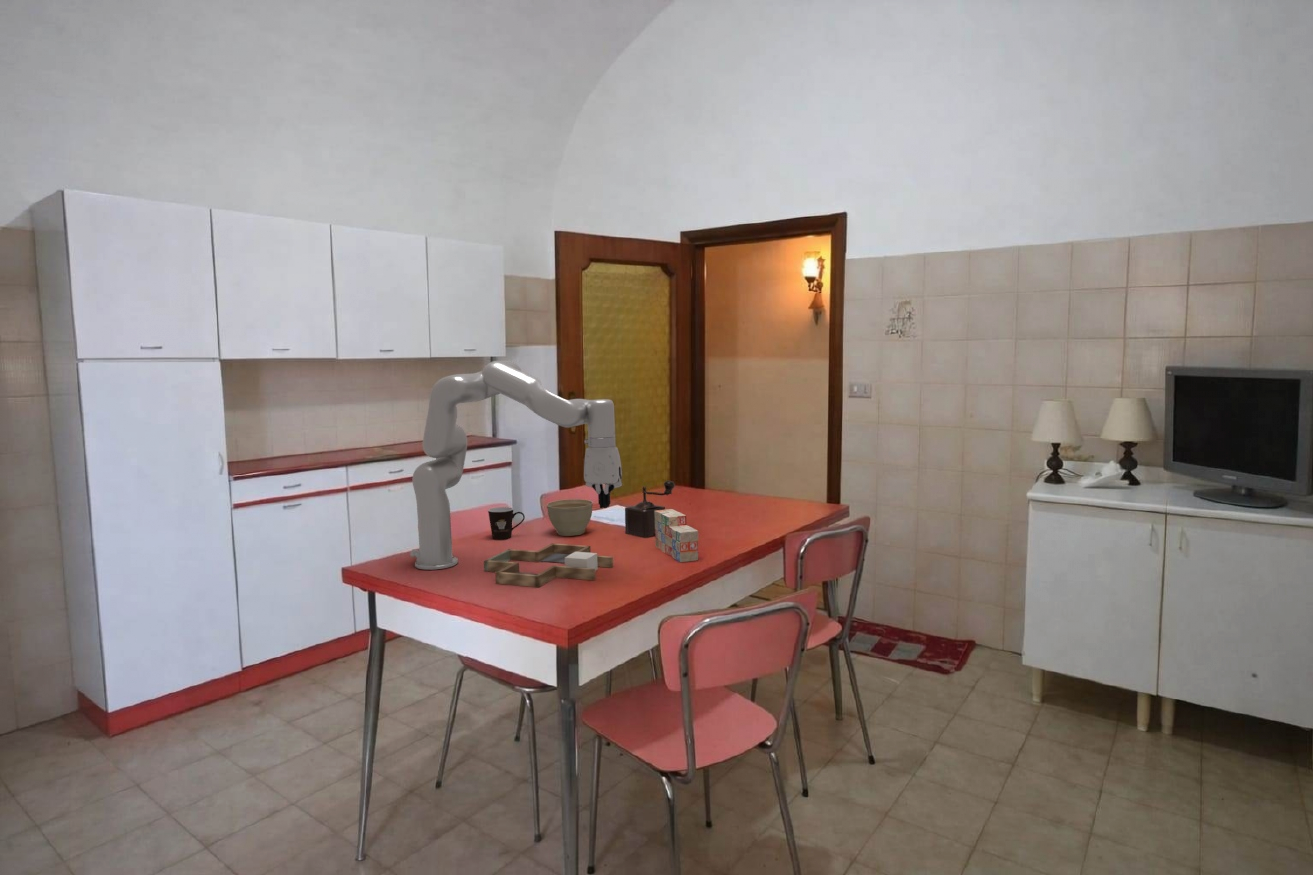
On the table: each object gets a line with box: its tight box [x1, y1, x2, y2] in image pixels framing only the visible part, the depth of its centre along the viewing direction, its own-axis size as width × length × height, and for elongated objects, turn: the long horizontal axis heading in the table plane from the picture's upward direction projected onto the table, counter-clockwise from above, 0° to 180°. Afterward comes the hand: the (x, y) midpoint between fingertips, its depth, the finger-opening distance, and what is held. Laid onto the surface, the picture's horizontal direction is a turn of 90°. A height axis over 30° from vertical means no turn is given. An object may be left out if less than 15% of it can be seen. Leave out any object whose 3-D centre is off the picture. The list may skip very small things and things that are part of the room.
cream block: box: [564, 552, 598, 572], centre depth 225 cm, size 7×7×5 cm
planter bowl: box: [546, 498, 594, 537], centre depth 273 cm, size 16×16×11 cm
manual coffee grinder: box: [624, 480, 676, 539], centre depth 272 cm, size 16×11×18 cm
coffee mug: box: [487, 506, 526, 541], centre depth 268 cm, size 12×9×10 cm
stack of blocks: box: [654, 508, 699, 563], centre depth 243 cm, size 21×6×12 cm, turn 20°
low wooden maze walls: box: [483, 543, 614, 588], centre depth 228 cm, size 35×34×3 cm
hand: (604, 507), depth 220 cm, fingers closed
